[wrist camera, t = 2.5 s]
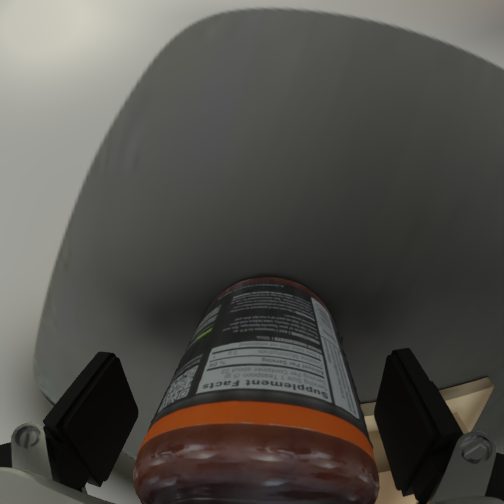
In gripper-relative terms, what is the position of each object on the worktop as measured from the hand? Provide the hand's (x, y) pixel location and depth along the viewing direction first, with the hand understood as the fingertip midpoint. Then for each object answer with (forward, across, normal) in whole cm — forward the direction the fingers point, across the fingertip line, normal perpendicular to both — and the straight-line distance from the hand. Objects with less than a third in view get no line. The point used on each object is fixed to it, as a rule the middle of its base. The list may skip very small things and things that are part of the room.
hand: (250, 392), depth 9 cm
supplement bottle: (+4, 0, 0) cm, 4 cm away
